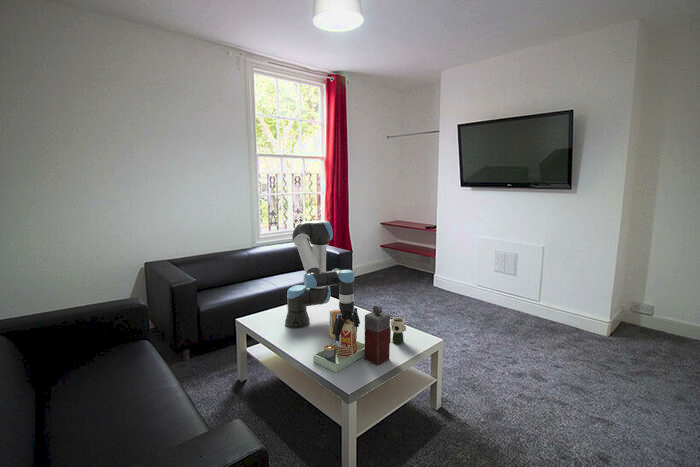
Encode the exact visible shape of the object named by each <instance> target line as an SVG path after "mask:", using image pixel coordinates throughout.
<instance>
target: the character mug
mask: <svg viewBox="0 0 700 467" xmlns="http://www.w3.org/2000/svg"><path fill="white" fill-rule="evenodd" d="M390 328H391V332H393V333H392V337H391V338H392V340H391V341H392V342H391V343H394V344H396V345H397V344H402V343H404V342H405V341H404V332H407V326H406V320H405V318H403V317H399V316H397V317H395V316H394V317H393V318H392V319H390Z"/></svg>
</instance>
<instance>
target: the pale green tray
mask: <svg viewBox="0 0 700 467" xmlns="http://www.w3.org/2000/svg"><path fill="white" fill-rule="evenodd" d="M356 343H357V352H356V353H354V354H353V355H351V356H349V357H347V358H343V357H337V351H338V347H337V346H336V342H334V343H333V344H332V345H335V346H336V364H335V363H333V362H330V361H328V360H326V359H325V349H321V350H320V351H317V352H315V353H314V354H313V357H312V358H313V363H315V364H317V365H319V366H321V367H323V368H325V369H327V370H329V371H330V372H333V373H334V374H338V373H339V372H340V371H342V370H344V369H346V368H347V367H348V366H350V365H352V364H354V363H355V362H357V361H359V360H361V359H362V358H363V357H364V358H365V342H361V341H359V340H356Z"/></svg>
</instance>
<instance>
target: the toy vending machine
mask: <svg viewBox="0 0 700 467" xmlns="http://www.w3.org/2000/svg"><path fill="white" fill-rule="evenodd" d="M391 332H392V328H391V315H390V314H388V313H385V312H383V308H382V306H381V304H376V305H374V306H372V311H371V312H369V313H366V314H365V315H364V344H365V356H364V360H365V361H367V362H369V363H372V364H373V365H375V366H380V365H382V364H384V363H386V362H388V361H389V360H390V353H391V352H390V348H391V347H390V344H391V343H392V342H391V341H392V340H391V338H392V337H391V336H392V334H391Z"/></svg>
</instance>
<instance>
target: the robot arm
mask: <svg viewBox="0 0 700 467" xmlns="http://www.w3.org/2000/svg"><path fill="white" fill-rule="evenodd" d="M333 237H334V231H333V227H332V225H331V223H330V222H329V221H328V220H313V221H312V220H311V221H302V222H300V223H299V224H297V225H296V227H295V228H294V229H293V232H292V243H293V244H294V246H295V247H296V248H297V251H298V254H299V257H300V260H301V263H302V267H303V269H304V272H305V274H303V284H298V285H297V284H296V285H293V286H291V287H289V288H288V289H287V291H286V292H287V294H286V298H287V302H286V303H287V313H286V317H285V320H284V322H285V323H284V324H285V326H286V327H287V328H291V329H292V328H293V329H300V328H304V327H307V326H308V325H310V321H311V320H310V317H309V314H308V309H307V308H308V307H310V306H311V307H312V306H318V305H319V306H321V305H326V304H328V303H329V302H330V299H331V294H332V293H331V292H332V291H331V287H332V286H337V287H338V301H339V302H338V310H339V309H340V314H336V319H335V323H334V328H333V332H332V334H334V335H336V338H335V343H336V346H337V347H340V348H341V335H340V333H341V330H342V328H343V325H344V323H345V322H346V320H348V319H350V320H351V321H353V322H354V328H355V335H356V340H357V339H358V334H357V333H358V328H359V327H360V324H361V321H360V318H359V314H358V308H357V307H355V273H354V271H353V270H351V269H340V268H333V269H332V270H329V271H328V270H327V246H328V245H329V244H330V241H331V240H333ZM342 319H343V320H342Z"/></svg>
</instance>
